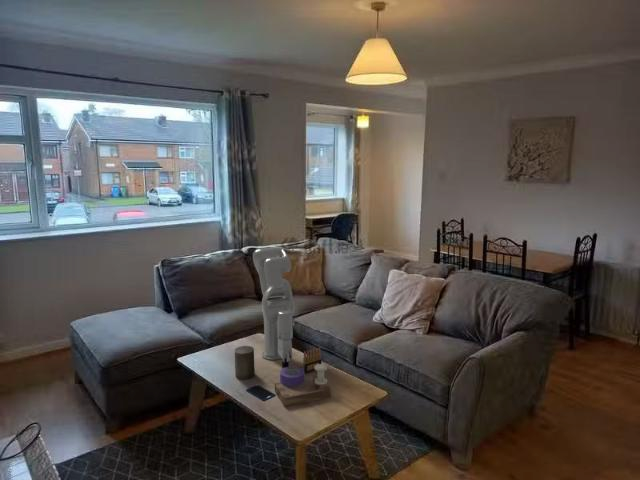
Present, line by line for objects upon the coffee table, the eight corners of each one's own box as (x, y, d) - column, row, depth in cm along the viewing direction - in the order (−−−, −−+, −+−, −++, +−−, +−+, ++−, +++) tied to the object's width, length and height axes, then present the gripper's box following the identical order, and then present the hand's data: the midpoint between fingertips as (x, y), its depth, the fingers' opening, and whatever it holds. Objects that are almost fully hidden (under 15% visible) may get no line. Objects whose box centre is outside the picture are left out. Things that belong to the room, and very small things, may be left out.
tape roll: (304, 375, 232) (304, 366, 231) (304, 386, 221) (304, 377, 220) (280, 375, 232) (280, 366, 231) (279, 387, 220) (279, 377, 219)
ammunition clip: (304, 374, 233) (304, 351, 231) (302, 372, 235) (302, 350, 233) (321, 368, 239) (321, 346, 237) (319, 367, 241) (319, 345, 239)
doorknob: (312, 380, 218) (312, 365, 217) (324, 378, 221) (324, 363, 219) (317, 386, 213) (317, 370, 212) (329, 383, 215) (329, 368, 214)
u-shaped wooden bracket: (274, 391, 216) (274, 383, 215) (318, 383, 224) (318, 375, 223) (284, 406, 203) (284, 398, 202) (330, 397, 211) (330, 389, 210)
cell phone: (263, 402, 207) (263, 400, 207) (245, 391, 217) (244, 389, 217) (276, 396, 213) (276, 394, 212) (257, 385, 222) (257, 384, 222)
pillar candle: (258, 375, 232) (257, 346, 229) (242, 381, 225) (241, 352, 222) (247, 369, 239) (246, 341, 236) (231, 375, 232) (230, 346, 229)
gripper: (273, 330, 237) (274, 364, 241) (282, 341, 224) (283, 376, 227) (287, 328, 240) (287, 361, 243) (297, 338, 227) (297, 374, 230)
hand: (285, 368), depth 235 cm, fingers closed
